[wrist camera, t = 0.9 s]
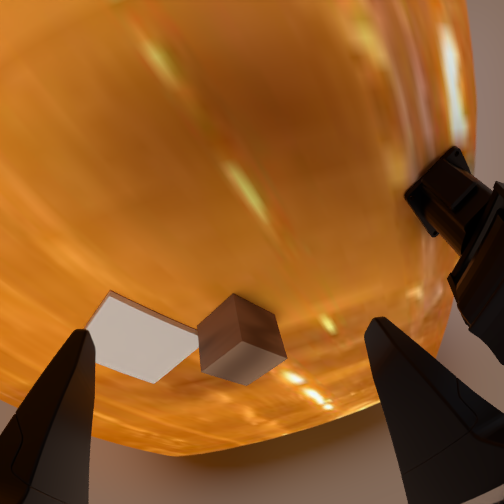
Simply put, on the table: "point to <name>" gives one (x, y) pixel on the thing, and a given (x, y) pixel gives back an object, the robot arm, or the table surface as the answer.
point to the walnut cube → (239, 341)
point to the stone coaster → (138, 339)
